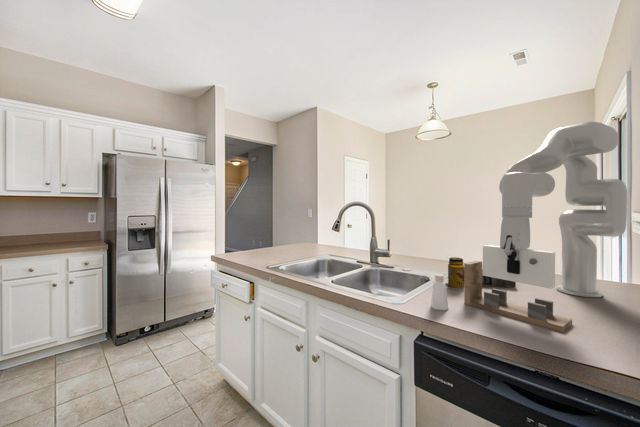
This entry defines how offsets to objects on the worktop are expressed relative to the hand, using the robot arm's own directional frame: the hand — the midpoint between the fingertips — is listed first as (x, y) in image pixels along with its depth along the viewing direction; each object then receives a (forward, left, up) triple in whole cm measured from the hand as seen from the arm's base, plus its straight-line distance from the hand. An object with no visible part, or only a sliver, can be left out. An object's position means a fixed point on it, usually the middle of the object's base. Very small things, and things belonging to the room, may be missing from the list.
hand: (515, 271), depth 83 cm
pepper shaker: (+14, -17, -14) cm, 26 cm away
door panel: (0, 0, -3) cm, 3 cm away
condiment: (-12, -27, -14) cm, 33 cm away
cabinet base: (0, 0, -13) cm, 13 cm away
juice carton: (-28, -22, -14) cm, 38 cm away
